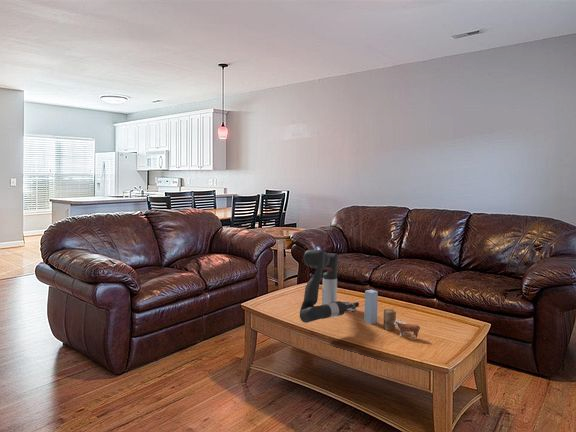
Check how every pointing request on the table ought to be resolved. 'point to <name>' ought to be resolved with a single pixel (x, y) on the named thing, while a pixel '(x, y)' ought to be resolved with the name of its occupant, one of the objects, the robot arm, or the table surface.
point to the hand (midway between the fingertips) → (357, 304)
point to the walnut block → (389, 319)
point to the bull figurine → (407, 328)
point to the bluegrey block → (371, 306)
